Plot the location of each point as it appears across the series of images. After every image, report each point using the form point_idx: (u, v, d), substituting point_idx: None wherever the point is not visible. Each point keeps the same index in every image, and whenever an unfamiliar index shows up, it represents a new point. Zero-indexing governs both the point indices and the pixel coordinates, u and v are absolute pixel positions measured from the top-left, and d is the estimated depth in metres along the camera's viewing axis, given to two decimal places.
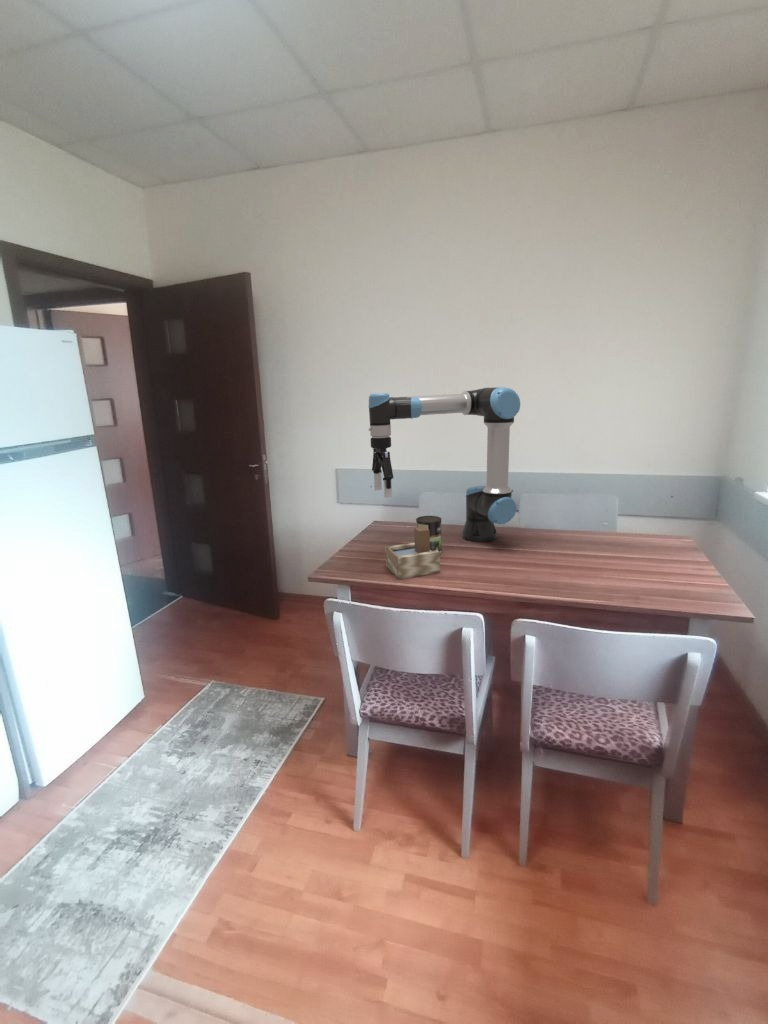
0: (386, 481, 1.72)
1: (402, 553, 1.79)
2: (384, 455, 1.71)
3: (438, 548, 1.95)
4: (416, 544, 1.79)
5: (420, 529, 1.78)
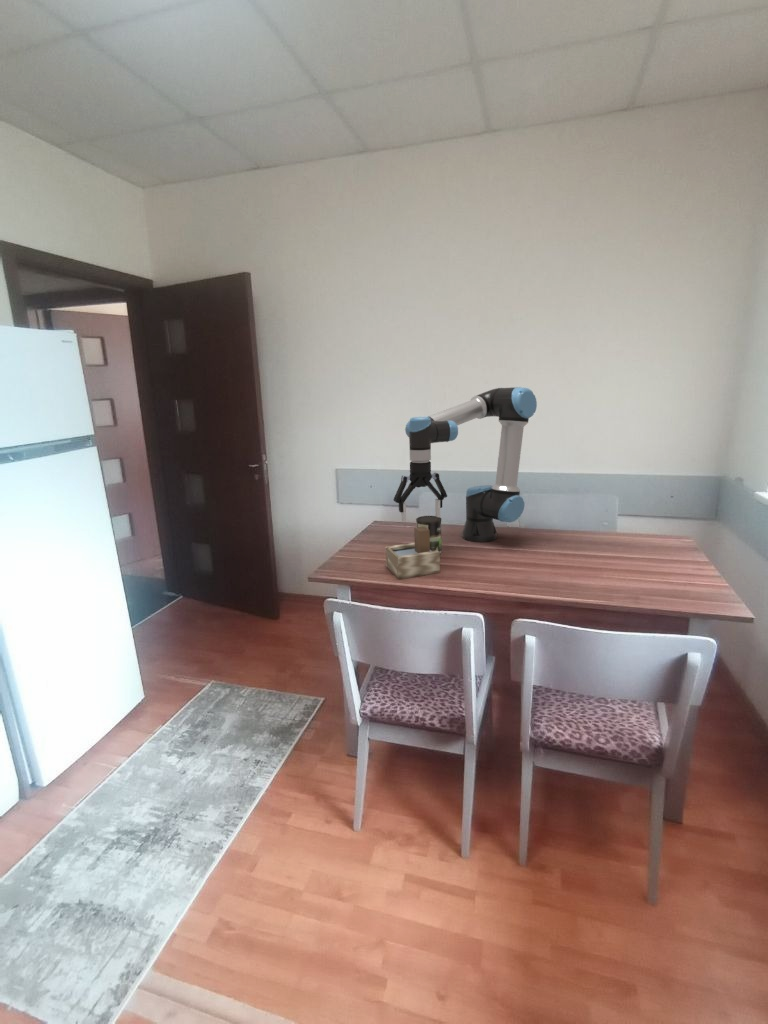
0: None
1: (402, 553, 1.79)
2: (401, 478, 1.72)
3: (438, 548, 1.95)
4: (416, 544, 1.79)
5: (420, 529, 1.78)
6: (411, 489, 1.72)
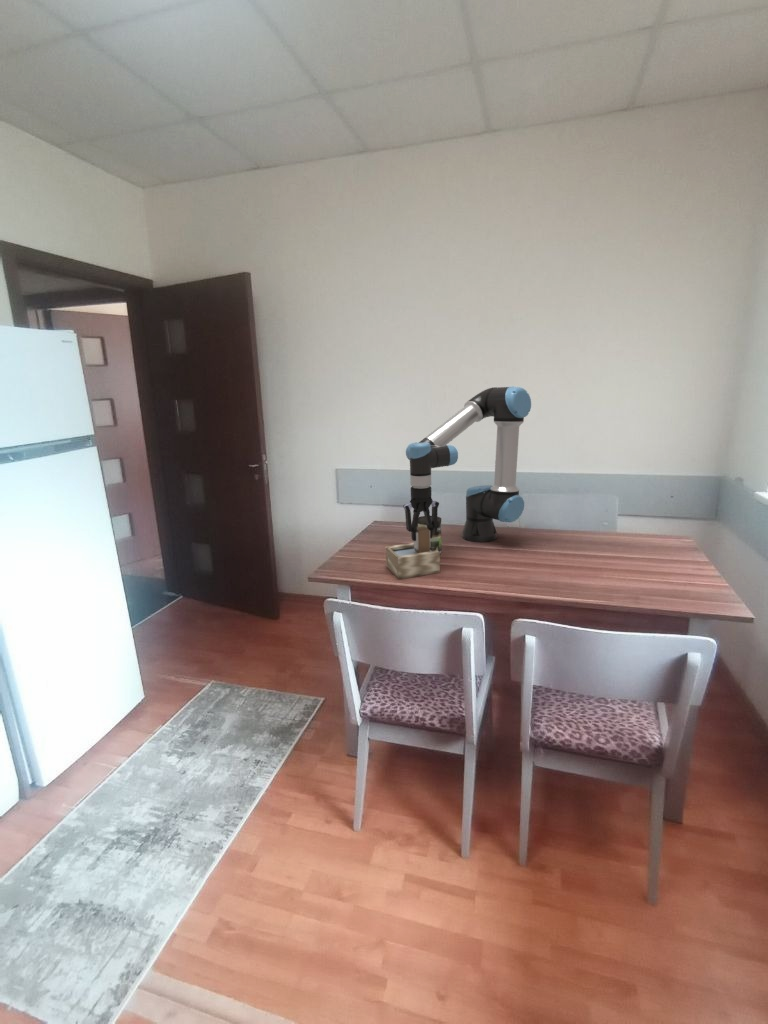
0: None
1: (402, 553, 1.79)
2: (404, 508, 1.75)
3: (438, 548, 1.95)
4: None
5: (420, 529, 1.78)
6: (417, 516, 1.75)
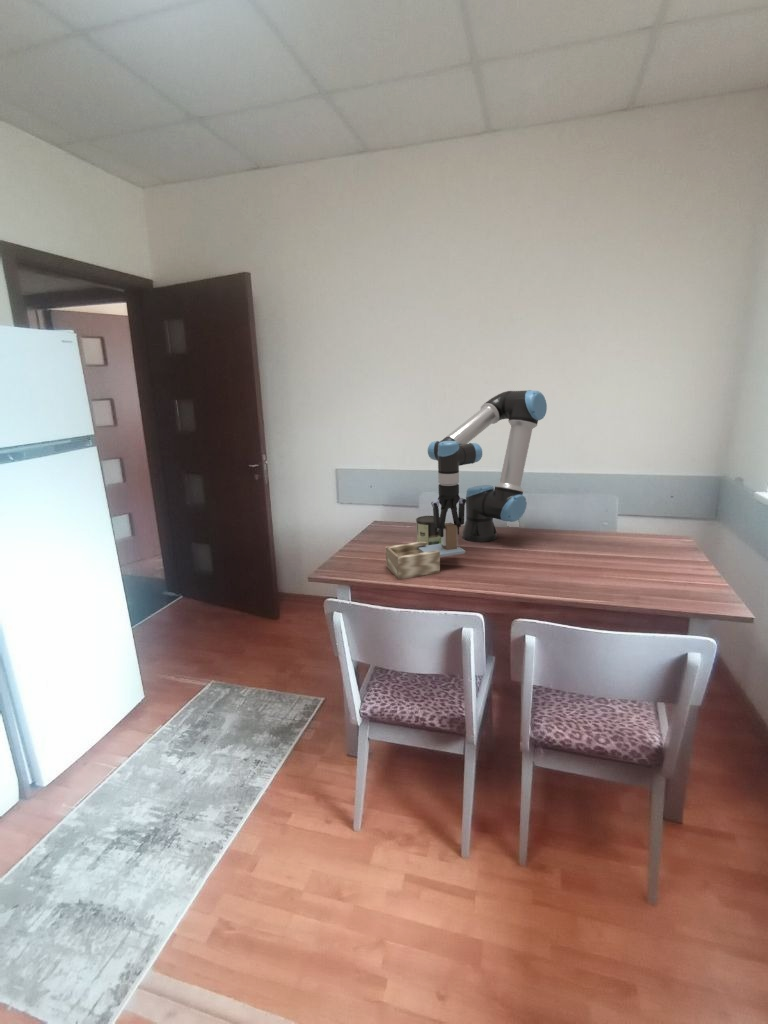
0: None
1: (429, 549, 1.83)
2: (432, 505, 1.78)
3: None
4: None
5: (448, 525, 1.81)
6: (445, 512, 1.78)
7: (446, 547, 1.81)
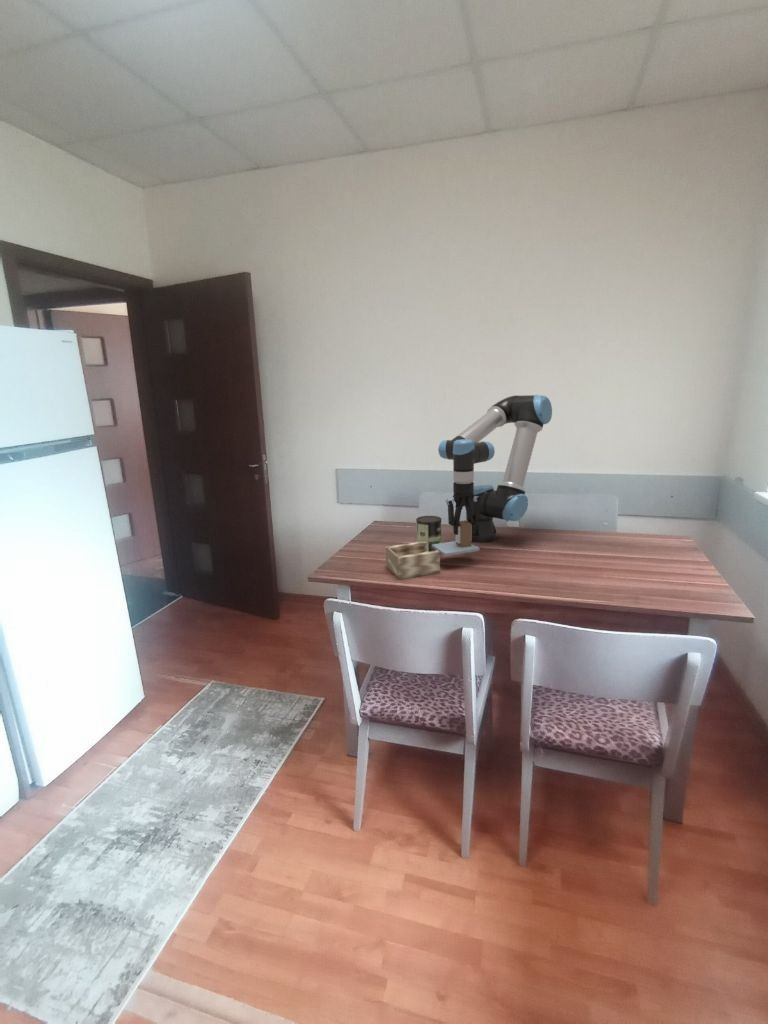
0: None
1: (444, 546, 1.85)
2: (447, 503, 1.80)
3: None
4: None
5: (462, 522, 1.83)
6: (459, 510, 1.80)
7: (460, 545, 1.83)
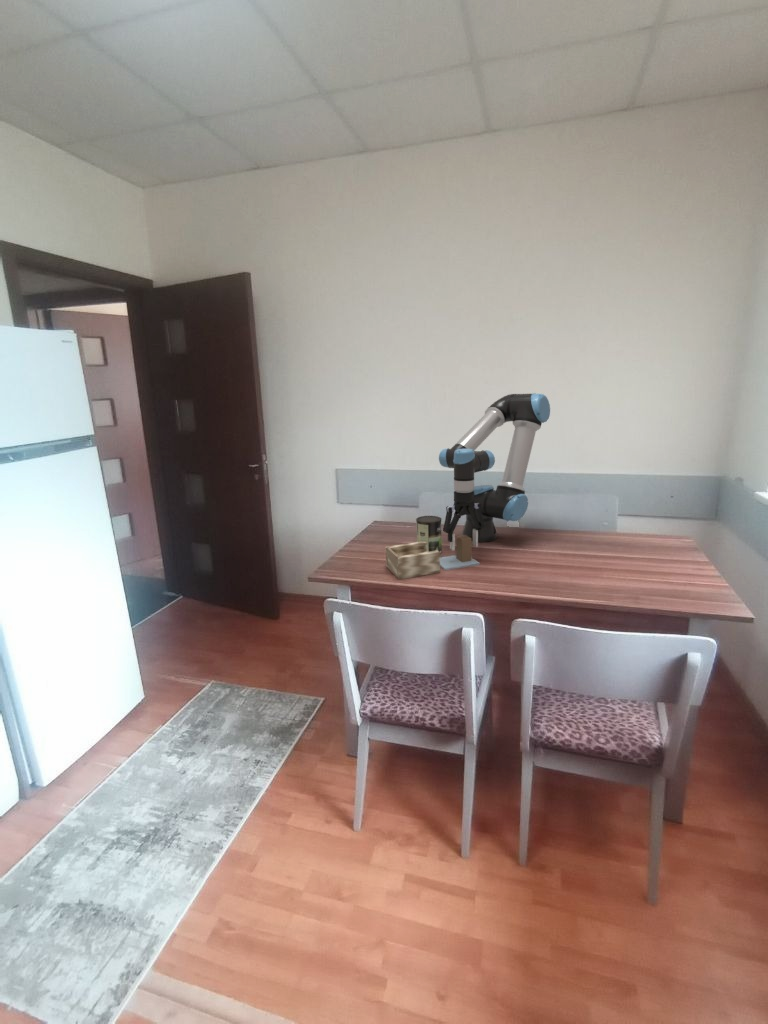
0: None
1: (444, 561, 1.86)
2: (446, 509, 1.80)
3: (438, 548, 1.95)
4: (458, 552, 1.86)
5: (462, 537, 1.84)
6: (457, 518, 1.80)
7: (461, 559, 1.84)
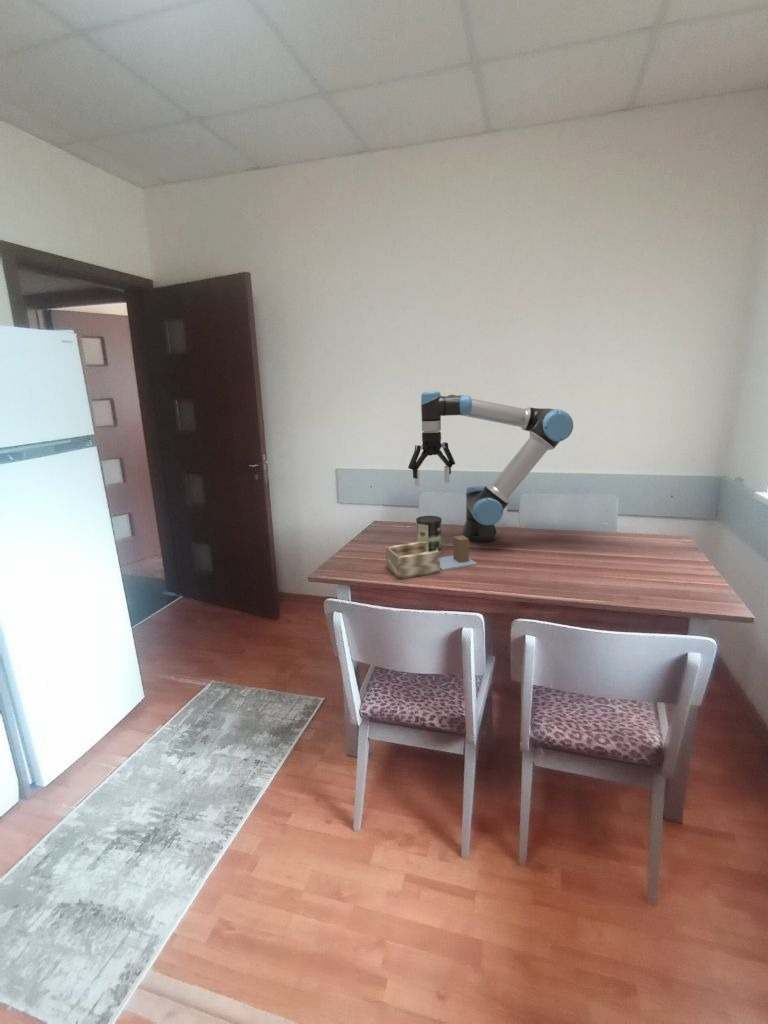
0: None
1: (442, 561, 1.86)
2: (415, 448, 1.90)
3: (438, 548, 1.95)
4: (455, 552, 1.86)
5: (460, 537, 1.84)
6: (424, 457, 1.91)
7: (458, 560, 1.84)
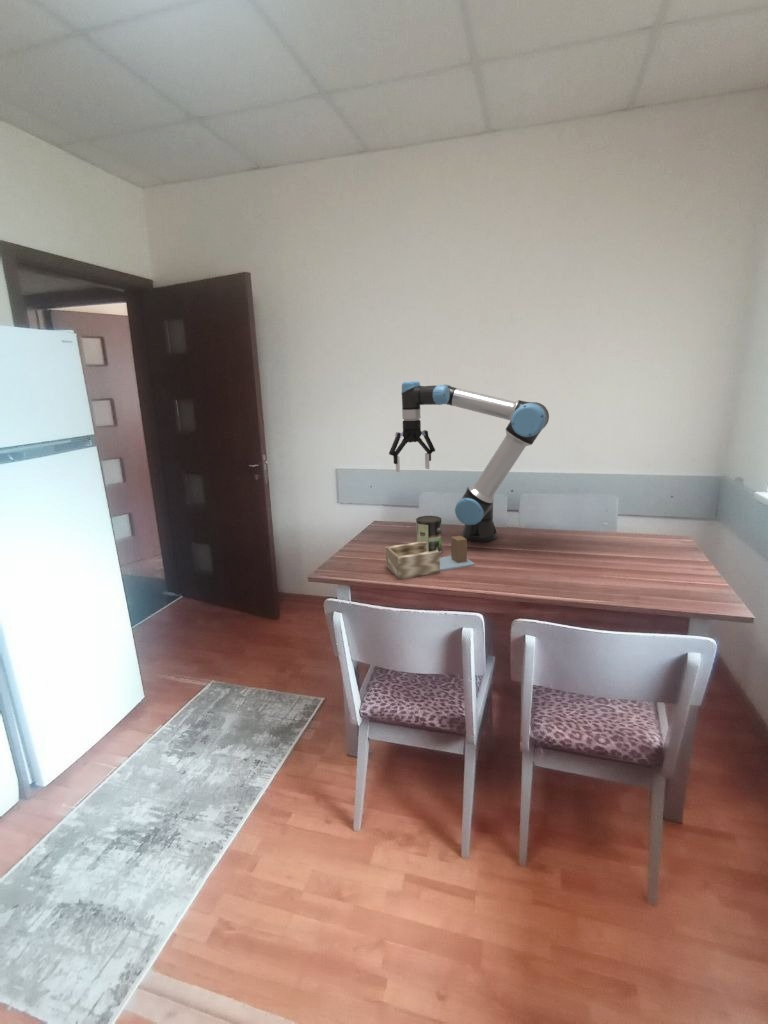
0: None
1: (440, 561, 1.85)
2: None
3: (438, 548, 1.95)
4: (453, 553, 1.85)
5: (458, 538, 1.84)
6: (404, 444, 2.01)
7: (456, 560, 1.84)
